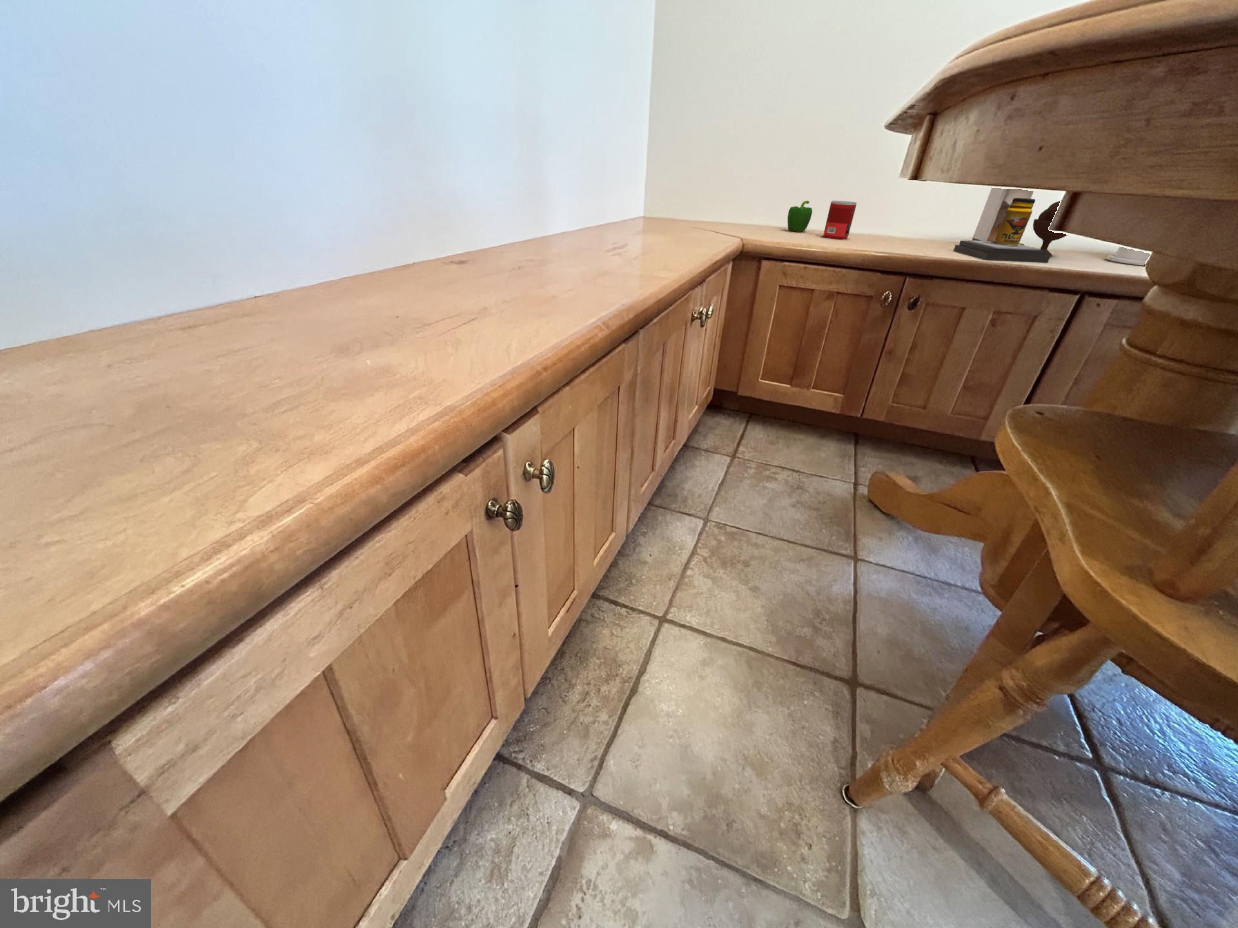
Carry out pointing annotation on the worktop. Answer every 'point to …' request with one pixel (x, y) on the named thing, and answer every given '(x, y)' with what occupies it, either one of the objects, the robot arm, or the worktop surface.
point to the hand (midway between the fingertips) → (1071, 153)
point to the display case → (996, 212)
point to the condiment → (1014, 222)
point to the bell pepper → (799, 217)
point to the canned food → (839, 219)
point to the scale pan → (1003, 245)
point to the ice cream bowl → (1046, 227)
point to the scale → (1001, 253)
